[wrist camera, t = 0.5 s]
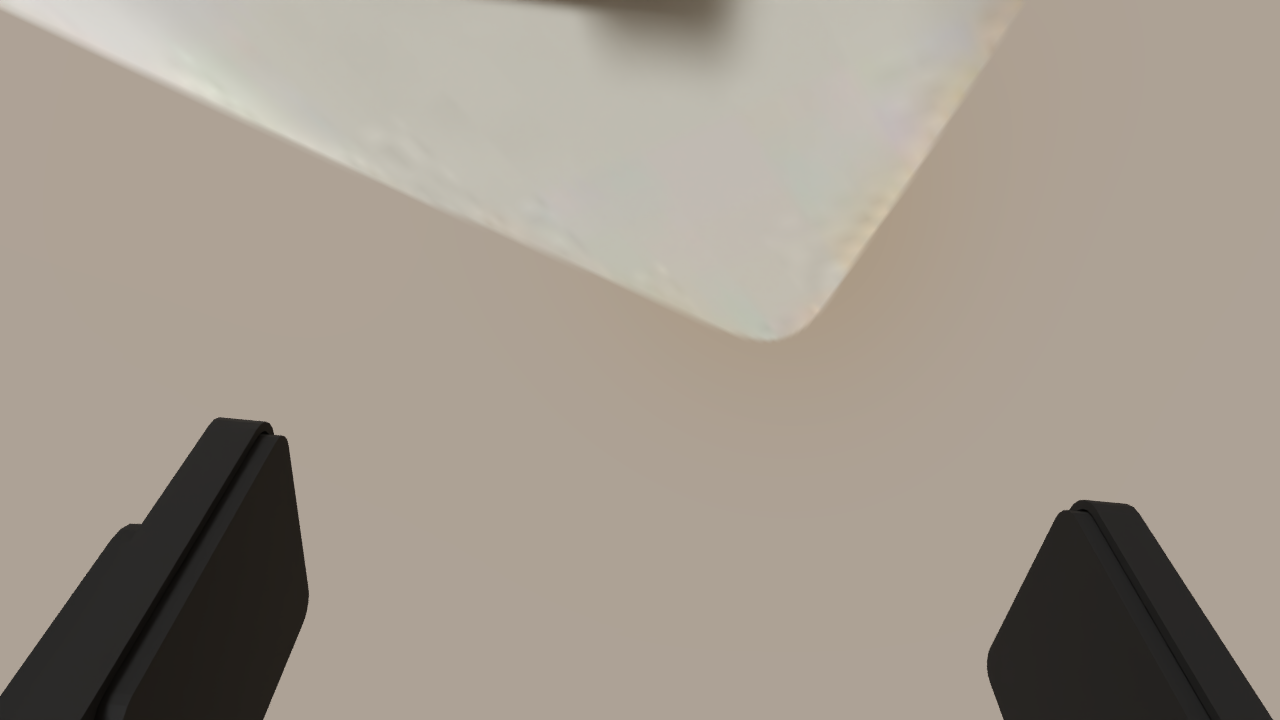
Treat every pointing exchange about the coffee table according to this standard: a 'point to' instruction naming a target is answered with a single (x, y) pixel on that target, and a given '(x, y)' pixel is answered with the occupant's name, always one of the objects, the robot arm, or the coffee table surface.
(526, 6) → the coffee table surface
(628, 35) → the coffee table surface
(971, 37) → the coffee table surface
